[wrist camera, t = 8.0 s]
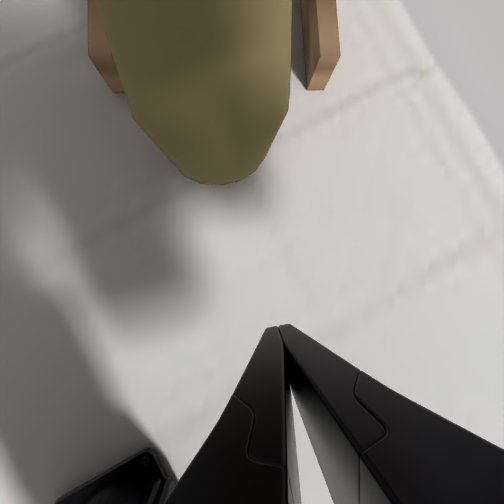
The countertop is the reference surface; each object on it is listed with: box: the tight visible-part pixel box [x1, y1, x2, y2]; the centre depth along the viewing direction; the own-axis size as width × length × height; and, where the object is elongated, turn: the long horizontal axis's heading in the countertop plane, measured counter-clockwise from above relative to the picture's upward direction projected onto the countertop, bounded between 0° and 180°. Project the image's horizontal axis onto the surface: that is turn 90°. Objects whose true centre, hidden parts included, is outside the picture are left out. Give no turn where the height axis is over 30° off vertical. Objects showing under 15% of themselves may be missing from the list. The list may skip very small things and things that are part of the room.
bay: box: [88, 0, 340, 92], centre depth 17 cm, size 9×14×3 cm, turn 93°
